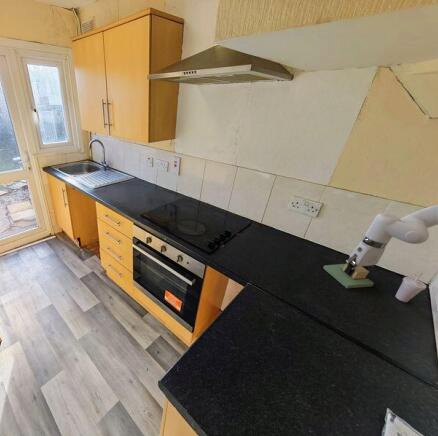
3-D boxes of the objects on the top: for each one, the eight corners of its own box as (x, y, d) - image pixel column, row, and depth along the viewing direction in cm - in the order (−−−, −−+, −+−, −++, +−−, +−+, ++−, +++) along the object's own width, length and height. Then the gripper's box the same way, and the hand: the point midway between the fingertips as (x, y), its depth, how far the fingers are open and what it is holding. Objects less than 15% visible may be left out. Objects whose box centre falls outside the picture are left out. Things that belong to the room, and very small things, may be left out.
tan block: (352, 269, 108) (356, 262, 106) (364, 278, 103) (369, 271, 101) (341, 270, 107) (345, 263, 105) (353, 279, 102) (357, 272, 100)
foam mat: (346, 266, 112) (348, 263, 111) (372, 286, 100) (374, 283, 99) (322, 268, 110) (324, 265, 109) (346, 288, 99) (348, 285, 98)
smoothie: (408, 297, 96) (430, 272, 89) (414, 307, 91) (437, 282, 84) (388, 290, 99) (408, 266, 92) (392, 300, 94) (413, 275, 87)
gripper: (365, 248, 91) (344, 280, 100) (401, 245, 94) (377, 277, 102) (348, 237, 98) (330, 269, 107) (382, 235, 100) (362, 266, 109)
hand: (353, 273), depth 105 cm, fingers closed on tan block, 5 cm apart
